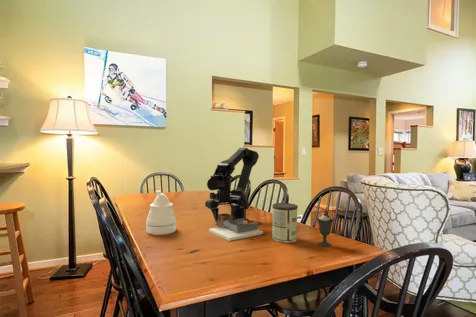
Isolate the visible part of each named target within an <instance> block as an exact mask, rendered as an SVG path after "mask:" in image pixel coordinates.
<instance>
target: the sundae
mask: <svg viewBox="0 0 476 317" xmlns="http://www.w3.org/2000/svg"><path fill="white" fill-rule="evenodd" d="M327 209H328V207H327V206H326V207H325V209H324V211H323V212H322V213H321V215H320V216H318V217H316V221H317V222H318V232H319V233H320V234H321V235H322V241H320V242H317V245H318V246H321V247H327V248H328V247H331V246H332V244H331V243H329V242H328V241H327V237H328V236H329V235H330V234H331V231H332V225H333V222H334V221H335V219H334V218H333V217H332V216H331V214H330V212H329V211H328V210H327Z"/></svg>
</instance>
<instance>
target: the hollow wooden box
mask: <svg viewBox="0 0 476 317" xmlns="http://www.w3.org/2000/svg"><path fill="white" fill-rule="evenodd" d="M232 219H233V215H231V213H227V212H224V213H218V220H217V222H216V221H215V226H218V227H223V221H226V220H232Z"/></svg>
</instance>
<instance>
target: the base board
mask: <svg viewBox="0 0 476 317" xmlns="http://www.w3.org/2000/svg"><path fill="white" fill-rule="evenodd" d="M247 223H248V220H245V221H243V224H247ZM208 232H209V233H211V234H212V235H216V236H217V237H219V238H221V239H224V240H226V241H228V242H229V241H236V240H240V239H246V238H250V237H256V236H260V235H263V234H264V231H263V230H260V229H259V228H258V229H256V230H251V231H246V232H241V233H236V232H233V231H231V230H228V229H226V228H224V227H220V226H218V227H213V228H209V229H208Z"/></svg>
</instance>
